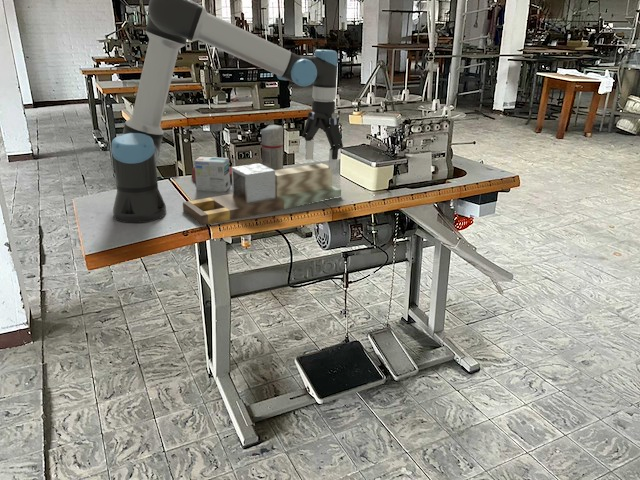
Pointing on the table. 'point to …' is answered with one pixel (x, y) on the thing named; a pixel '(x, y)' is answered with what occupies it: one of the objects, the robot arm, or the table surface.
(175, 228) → the table surface
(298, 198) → the deck
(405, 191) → the table surface
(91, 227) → the table surface
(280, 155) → the spray can
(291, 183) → the maple beam
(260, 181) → the matte grey cube
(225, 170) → the light bulb box
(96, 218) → the table surface
